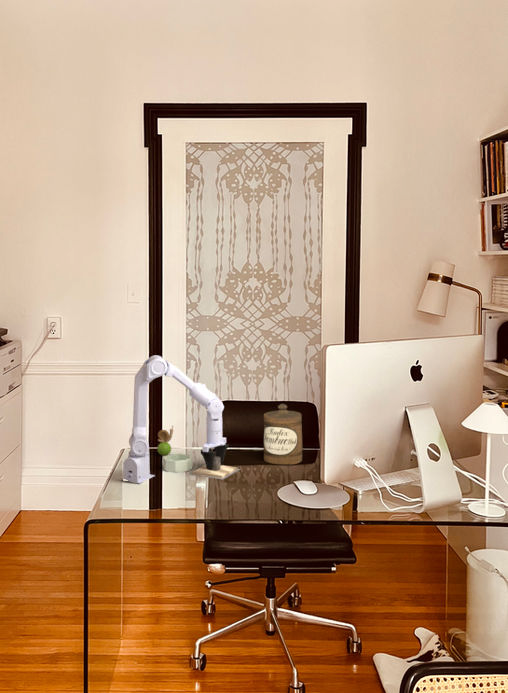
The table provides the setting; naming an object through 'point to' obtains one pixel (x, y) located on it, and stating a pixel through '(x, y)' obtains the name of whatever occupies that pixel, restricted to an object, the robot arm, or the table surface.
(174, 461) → the bowl
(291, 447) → the wooden container
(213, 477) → the mat
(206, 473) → the lid
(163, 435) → the snail figurine
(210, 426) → the robot arm
